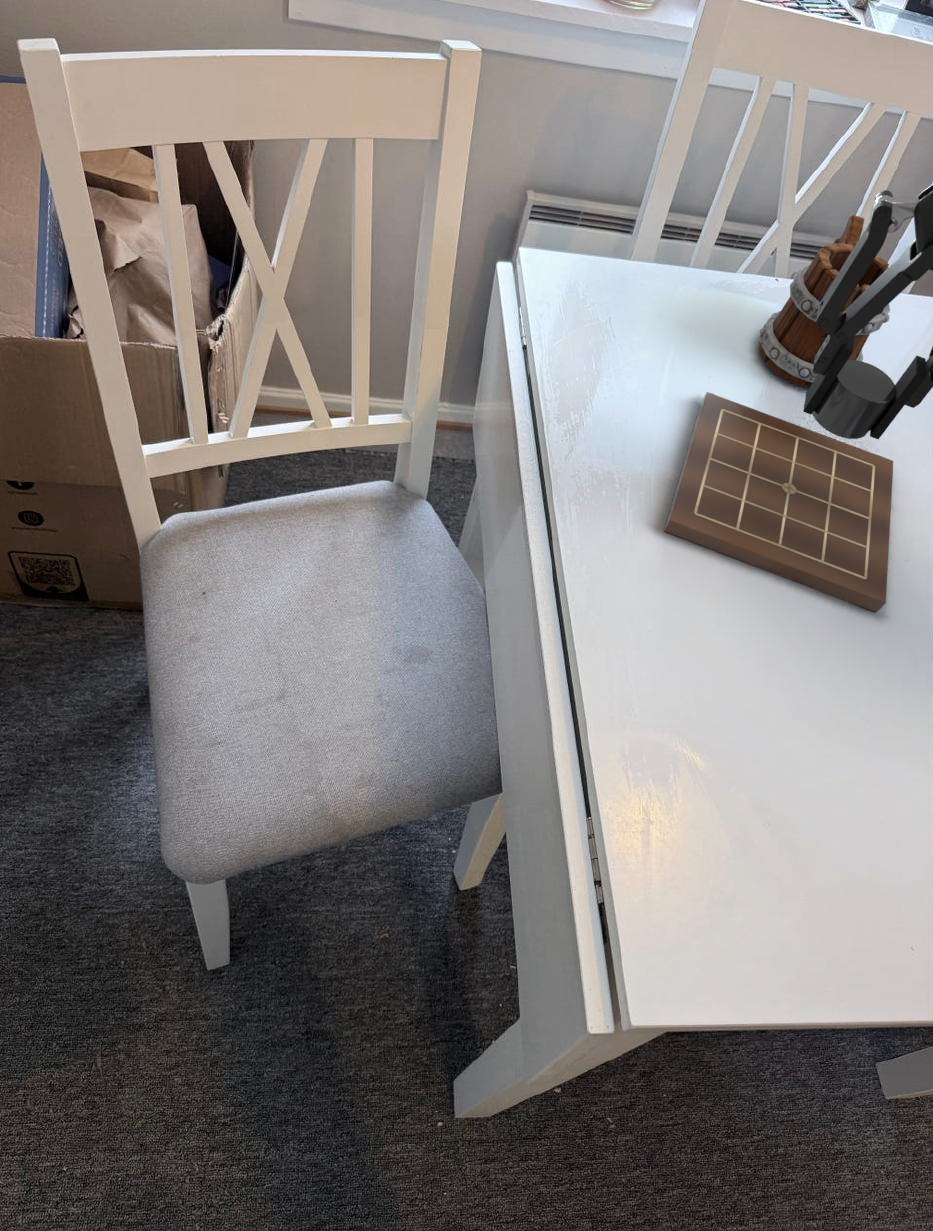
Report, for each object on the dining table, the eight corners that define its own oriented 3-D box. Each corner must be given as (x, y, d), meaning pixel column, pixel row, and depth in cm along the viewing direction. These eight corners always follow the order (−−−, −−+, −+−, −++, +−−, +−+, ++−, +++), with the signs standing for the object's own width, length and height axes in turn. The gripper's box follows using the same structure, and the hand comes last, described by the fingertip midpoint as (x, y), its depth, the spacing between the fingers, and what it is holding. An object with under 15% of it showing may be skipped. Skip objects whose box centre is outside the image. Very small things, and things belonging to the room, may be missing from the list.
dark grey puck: (881, 429, 72) (909, 392, 69) (843, 446, 70) (869, 409, 66) (837, 391, 74) (862, 354, 71) (799, 406, 72) (822, 368, 69)
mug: (752, 380, 91) (820, 241, 81) (744, 326, 101) (803, 197, 91) (856, 409, 91) (937, 274, 81) (836, 352, 101) (906, 226, 91)
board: (876, 613, 74) (886, 602, 73) (663, 531, 76) (669, 520, 75) (885, 471, 86) (893, 460, 85) (701, 402, 88) (707, 391, 86)
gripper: (1169, 158, 55) (944, 427, 73) (899, 67, 56) (746, 354, 74) (1189, 210, 50) (944, 482, 69) (895, 110, 51) (734, 404, 70)
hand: (842, 415), depth 72 cm, fingers closed on dark grey puck, 5 cm apart
